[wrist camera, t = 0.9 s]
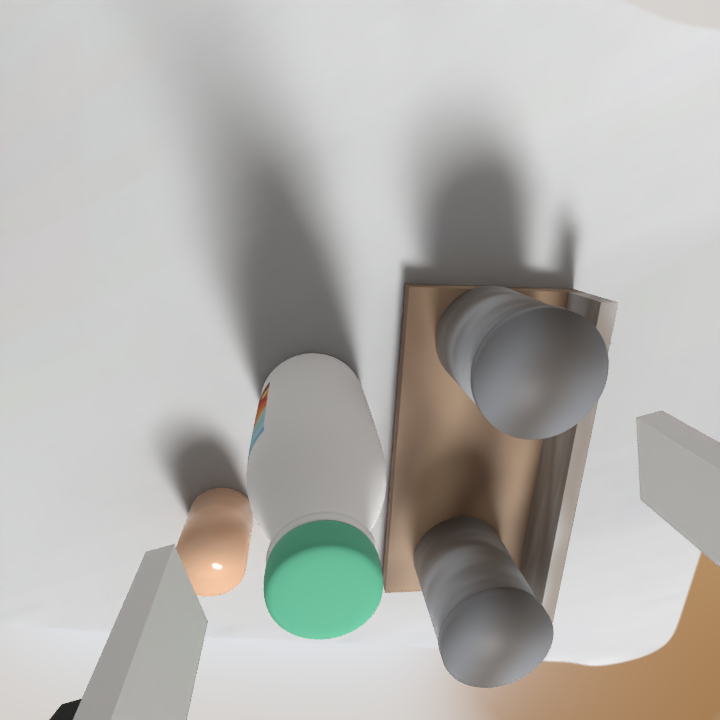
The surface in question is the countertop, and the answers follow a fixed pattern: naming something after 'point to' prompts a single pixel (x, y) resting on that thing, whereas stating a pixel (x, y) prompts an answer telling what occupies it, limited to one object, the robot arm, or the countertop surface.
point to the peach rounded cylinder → (216, 541)
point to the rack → (491, 463)
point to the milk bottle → (317, 496)
